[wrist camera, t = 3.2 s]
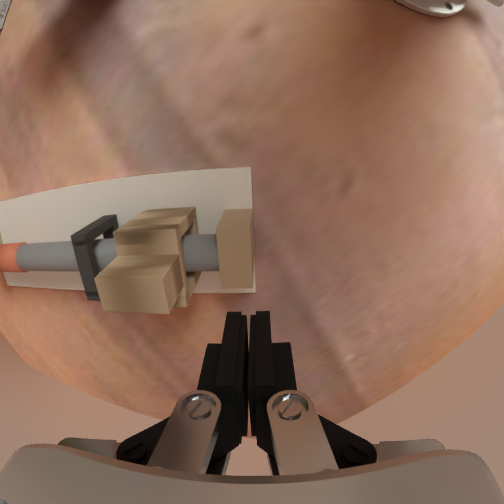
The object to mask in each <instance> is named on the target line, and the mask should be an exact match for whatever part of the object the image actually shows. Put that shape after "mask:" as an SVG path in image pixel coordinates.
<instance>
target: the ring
mask: <svg viewBox="0 0 504 504" xmlns="http://www.w3.org/2000/svg"><path fill="white" fill-rule="evenodd" d="M118 228H119V226H118V220H117V214H114V215H104V216H102V217H100V218H99V219H97V220H95V221H94V222H92V223H90V224H89V225H87V226H85V227H84V228H82V229H81V230H79V231H77V232H76V233H74V234H73V235H71V241H72V245H73V249H74V253H75V257H76V261H77V265H78V268H79V272H80V276H81V279H82V282H83V286H84V289H85V292H86V296H87V299H88V300H94V301H101V300H100V297H99V294H98V290H97V287H96V283H95V280H94V278H95V277H96V276H97V275H98V274H99V271H98V267H97V263H96V259H95V254H94V250H93V246H92V241H93V240H94V239H96V238H97V237H98V236H100V235H101V234H103V238H104V239H110V238H114V235H113V232H114V231H115V230H117V229H118Z"/></svg>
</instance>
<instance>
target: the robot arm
mask: <svg viewBox="0 0 504 504" xmlns="http://www.w3.org/2000/svg"><path fill="white" fill-rule="evenodd" d="M396 1H397V2H399V3H401V4H403V5H405V6H407V7H409V8H410V9H413V10H415V11H418V12H420V13H423V14H427V15H431V16H437V17H447V16H451V15H454V14H456V13H458V12H460V11H461V10H462V9H463V8H464V7H465V5H466V2H467V0H396ZM487 1H489V2H490V3H492V4H494V5H495V6H498V7H500V6H502V4H503V2H504V0H487ZM248 402H249V409H250V422H251V434H252V436H257V445H258V446H259V447H260V448H261V449H263V450H264V451H265V452H267V458H268V462H269V466H270V471H271V476H228V475H225V473H226V470H227V466H228V463H229V459H230V454H231V451H232V450H233V449H234V448H236V447H237V446H239V444H241V440H242V436H247V428H248ZM0 504H504V497H503V494H502V492H501V490H500V487H499V485H498V483H497V481H496V479H495V477H494V475H493V474H492V472H491V470H490V469H489V467H488V466H487V464H486V463H485V462H484V461H483V459H482V458H481V457H479V456H478V455H477V454H475V453H472V452H470V451H464V450H451V449H449V450H445V447H444V445H443V444H442V443H441V442H440V441H437V440H435V439H420V440H407V441H384V442H380V443H379V444H371V443H370V442H368V441H367V440H365V439H363V438H361V437H359V436H357V435H355V434H353V433H351V432H349V431H348V430H346V429H344V428H342V427H340V426H338V425H336V424H335V423H333V422H331V421H329V420H327V419H326V418H324V417H322V416H320V415H318V414H317V412H316V409H315V406H314V404H313V402H312V400H311V398H310V397H309V396H307V395H306V394H305V393H302V392H300V391H297V388H296V380H295V373H294V366H293V359H292V352H291V345H290V342H285V343H272V342H271V326H270V311H256V315H251V318H250V342H249V348H248V331H247V316H246V315H241V312H227V316H226V321H225V327H224V333H223V339H222V344H208V345H207V348H206V352H205V357H204V361H203V365H202V370H201V374H200V379H199V383H198V387H197V390H196V391H191V392H189V393H186V394H185V395H183V396H182V397H181V398H180V399H179V400H178V402H177V404H176V406H175V408H174V410H173V412H172V414H171V416H170V417H168V418H166V419H165V420H163V421H161V422H159V423H157V424H155V425H153V426H152V427H149V428H148V429H145V430H144V431H142V432H140V433H138V434H136V435H134V436H131V437H129V438H128V439H126V440H124V441H123V442H122V443H117V442H116V440H99V439H98V440H97V439H83V438H66V439H63V440H61V441H60V442H59V443H58V445H55V444H30V445H26V446H23V447H21V448H19V449H18V450H17V451H15V452H14V454H13V455H12V456H11V457H10V458H9V460H8V461H7V463H6V464H5V466H4V468H3V469H2V471H1V473H0Z"/></svg>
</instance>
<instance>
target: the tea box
mask: <svg viewBox="0 0 504 504" xmlns="http://www.w3.org/2000/svg"><path fill="white" fill-rule="evenodd" d="M10 2H11V0H0V30H1V29H2V27H3V23H4V20H5V17H6V14H7V11H8V8H9V5H10Z"/></svg>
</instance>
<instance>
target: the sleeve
mask: <svg viewBox="0 0 504 504" xmlns="http://www.w3.org/2000/svg"><path fill="white" fill-rule="evenodd" d="M113 235H114V241H115V246H116V251H117V255H118V256H117V257H116V258H115V259H114V260H113V261H112V262H111V263H110V264H108V265H107V266H106V267H105V268H104V269H103V270H102V271H101V272H100V273H99V274H98V275H97V276H96V277H95V278H94V280H95V283H96V287H97V290H98V294H99V297H100V300H101V303H102V307H103V310H104V311H114V312H131V313H151V314H170V313H171V311H172V309H173V307H187V306H188V304H189V301H190V299H191V296H192V294H193V292H194V289H195V287H196V284H197V282H198V280H199V277H200V275H201V272H202V271H191V272H186V269H185V262H184V255H183V247H182V239H181V237H182V236H183V235H198V226H197V216H196V207H181V208H166V209H152V210H144V211H142V212H141V213H140V214H138V215H137V216H135V217H134V218H132V219H131V220H129V221H128V222H127V223H125V224H124V225H122V226H121V227H120V228H118V229H117V230H115V231H114V232H113Z"/></svg>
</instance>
